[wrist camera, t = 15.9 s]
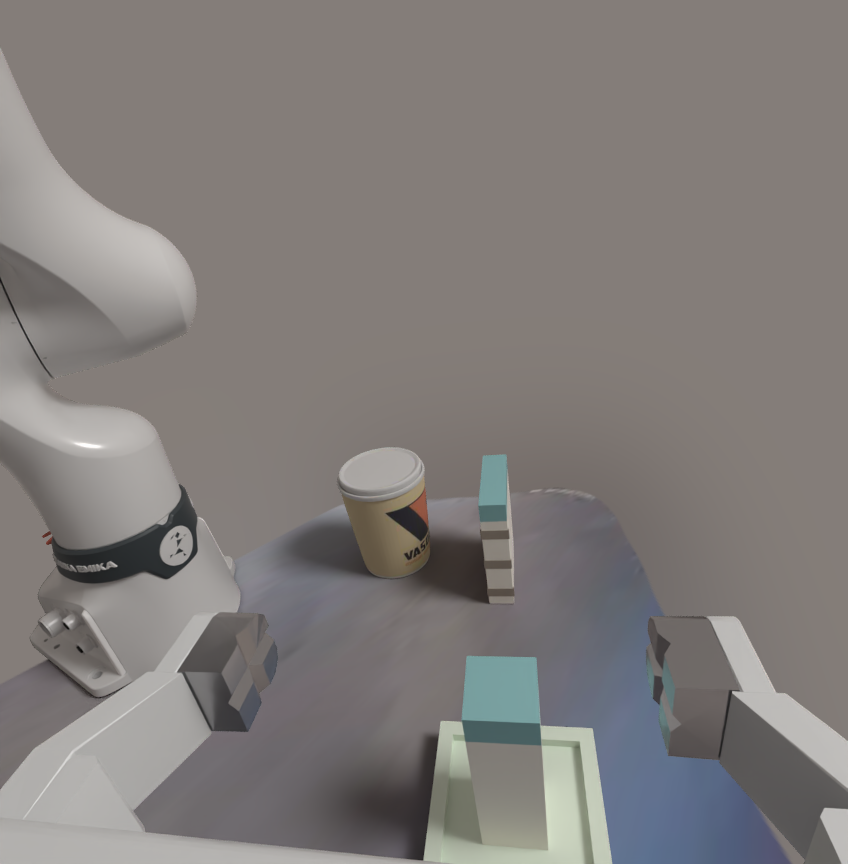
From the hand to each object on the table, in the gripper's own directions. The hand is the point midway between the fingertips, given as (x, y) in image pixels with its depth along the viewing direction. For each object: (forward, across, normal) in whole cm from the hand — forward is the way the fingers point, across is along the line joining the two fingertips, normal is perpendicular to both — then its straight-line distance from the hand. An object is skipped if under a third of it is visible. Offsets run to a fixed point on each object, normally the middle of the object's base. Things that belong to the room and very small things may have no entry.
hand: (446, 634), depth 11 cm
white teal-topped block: (+12, 0, +29) cm, 31 cm away
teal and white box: (+35, +2, +30) cm, 46 cm away
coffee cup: (+38, +14, +30) cm, 50 cm away
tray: (+12, 0, +30) cm, 32 cm away
